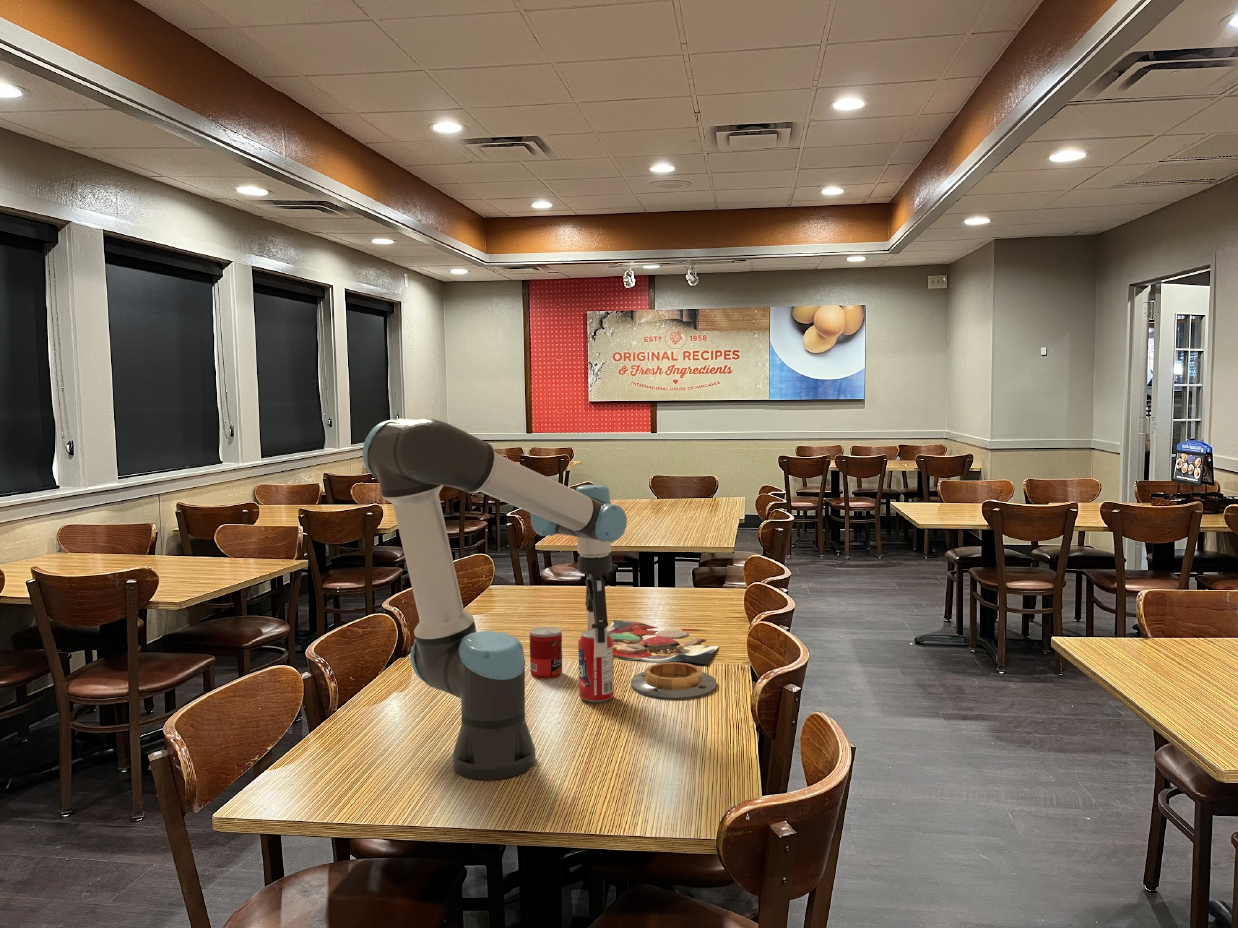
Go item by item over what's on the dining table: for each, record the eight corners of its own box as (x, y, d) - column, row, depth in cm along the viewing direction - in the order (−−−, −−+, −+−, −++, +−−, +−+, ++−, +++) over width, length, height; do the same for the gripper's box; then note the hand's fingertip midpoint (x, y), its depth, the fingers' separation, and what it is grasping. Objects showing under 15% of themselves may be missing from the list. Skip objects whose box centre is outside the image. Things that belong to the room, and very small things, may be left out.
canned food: (557, 679, 208) (557, 635, 207) (526, 678, 209) (525, 633, 209) (566, 670, 215) (565, 627, 214) (535, 668, 217) (534, 625, 216)
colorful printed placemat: (577, 658, 227) (577, 651, 226) (614, 626, 260) (614, 620, 260) (707, 667, 217) (707, 660, 217) (728, 633, 251) (728, 626, 251)
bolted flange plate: (726, 696, 194) (726, 681, 194) (638, 701, 191) (638, 686, 191) (704, 670, 214) (704, 656, 214) (624, 674, 211) (624, 660, 211)
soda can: (609, 705, 189) (609, 638, 188) (575, 703, 191) (574, 636, 190) (617, 693, 197) (616, 629, 196) (583, 691, 199) (582, 627, 198)
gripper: (619, 563, 180) (622, 662, 182) (603, 544, 205) (606, 631, 206) (584, 565, 179) (586, 665, 181) (572, 545, 204) (575, 633, 205)
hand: (597, 647), depth 193 cm, fingers open, 13 cm apart
